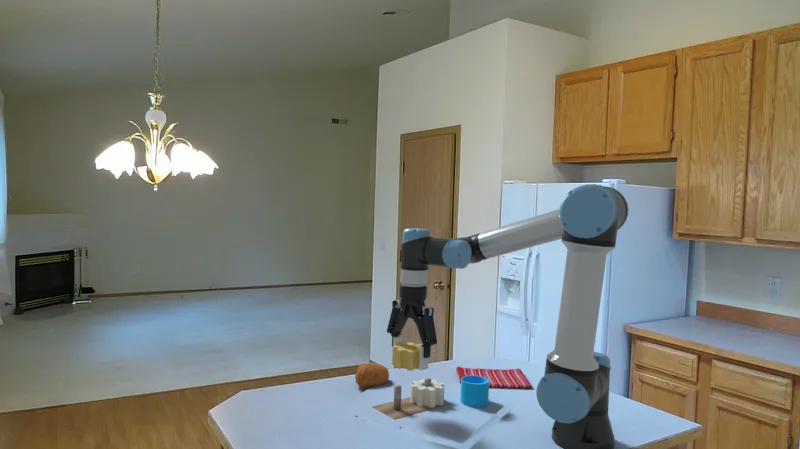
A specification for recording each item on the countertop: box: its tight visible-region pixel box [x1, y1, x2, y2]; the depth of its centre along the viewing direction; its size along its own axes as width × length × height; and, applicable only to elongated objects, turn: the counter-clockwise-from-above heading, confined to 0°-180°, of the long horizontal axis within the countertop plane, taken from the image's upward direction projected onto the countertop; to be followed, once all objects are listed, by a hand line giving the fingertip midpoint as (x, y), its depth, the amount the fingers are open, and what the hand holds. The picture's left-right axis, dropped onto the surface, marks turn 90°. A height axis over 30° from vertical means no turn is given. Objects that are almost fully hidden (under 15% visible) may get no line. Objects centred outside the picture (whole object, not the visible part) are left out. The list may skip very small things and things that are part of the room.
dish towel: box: [455, 366, 533, 390], centre depth 188 cm, size 17×24×3 cm
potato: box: [354, 362, 390, 389], centre depth 178 cm, size 9×11×8 cm
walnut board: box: [372, 378, 453, 420], centre depth 158 cm, size 11×21×8 cm, turn 127°
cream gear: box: [410, 378, 445, 408], centre depth 162 cm, size 10×10×5 cm
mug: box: [460, 376, 490, 408], centre depth 164 cm, size 12×8×8 cm
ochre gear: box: [391, 341, 423, 372], centre depth 153 cm, size 10×10×5 cm
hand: (409, 364), depth 153 cm, fingers closed on ochre gear, 10 cm apart
